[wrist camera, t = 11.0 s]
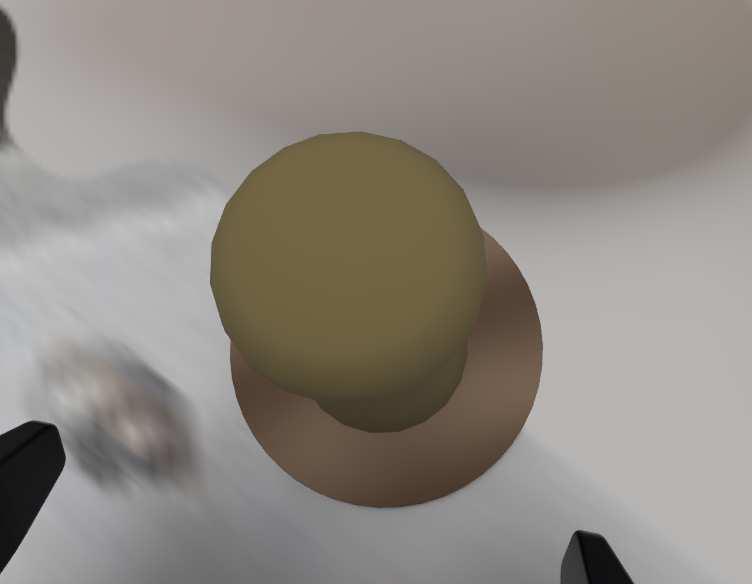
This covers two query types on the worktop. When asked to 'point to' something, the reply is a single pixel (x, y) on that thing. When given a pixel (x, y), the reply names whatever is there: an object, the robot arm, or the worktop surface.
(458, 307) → the cork
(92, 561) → the worktop surface
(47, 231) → the worktop surface
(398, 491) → the walnut plate
